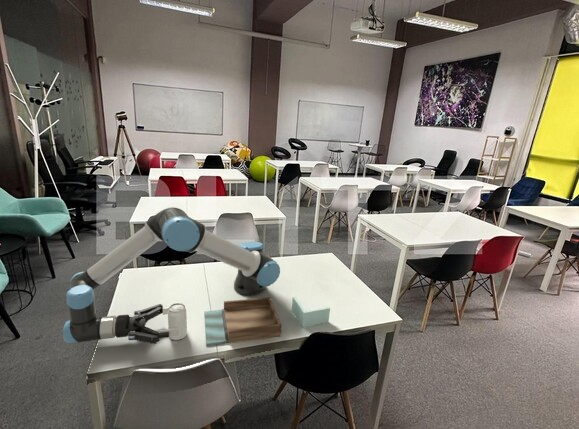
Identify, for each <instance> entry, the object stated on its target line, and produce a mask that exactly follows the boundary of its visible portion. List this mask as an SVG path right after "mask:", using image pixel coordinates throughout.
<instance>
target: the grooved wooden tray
mask: <svg viewBox="0 0 579 429" xmlns="http://www.w3.org/2000/svg"><path fill="white" fill-rule="evenodd" d="M204 329H205V330H204V332H205V345H206V346H205V347H208V346H217V345H223V344H224V345H225V344H231V343H233V344H234V343H240V342H247V341H256V340H262V339H263V340H265V339H271V338H278V337H279V338H280V337H281V335H282V324H281V321H280V318H279V315H278V314H277V311H276V308H275V306H274V304H273V301H272V298H271V297H269V296H268V297H257V298H247V299H246V298H245V299H236V300H226V301H225V300H224V301H223V308H222V309H216V310H206V311H204Z"/></svg>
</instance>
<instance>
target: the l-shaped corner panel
mask: <svg viewBox="0 0 579 429" xmlns="http://www.w3.org/2000/svg"><path fill="white" fill-rule="evenodd" d="M291 301H292V302H291V312H292V314H293V315H294V317H295V318H296V320H297V321H299V322H298V323H299V325H300V324H301V325H300V326H301V328H302V327H303V328H306V327H307V326H308V327H312V326H317V325H316V324H318V325H322V324H321V323H323V324H326V323H325V322H328V323H329V322H330V321H329V320H330V313H331V307H330V306H328V307H321V308H318V309H317V308H316V309H307V310H305V308H304V307H303V305H301V303H300V302H299V300H298V299H297V298H296V296H292V300H291ZM308 327H307V328H308Z"/></svg>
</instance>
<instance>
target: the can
mask: <svg viewBox="0 0 579 429" xmlns="http://www.w3.org/2000/svg"><path fill="white" fill-rule="evenodd" d="M168 307H169V310H168V314H167V324H168V326H167V327H168V328H167V329H173V328H179V336H172V337H169V339H171V340H173V341H180V339H181V340H182V339H185V337H186V336H187V334H188V326H187V325H188V324H187V323H188V322H187V319H188V316H187V308H186V306H185V304H184V303H181V302H180V303H179V302H177V303H173V304H171V305H170V306H168Z"/></svg>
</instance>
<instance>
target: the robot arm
mask: <svg viewBox="0 0 579 429" xmlns="http://www.w3.org/2000/svg"><path fill="white" fill-rule="evenodd" d="M163 241H164V243H165V244H166V245H167V246H168V247H169V248H171V249H172V250H175V251H176V252H177V251H178V252H187V253H194V252H198V253H200V254H203V255H205V256H208V257H210V258H212V259H214V260H216V261H218V262H221V263H223V264H226V265H228V266H230V267H233V268H235V269H237V274H236V277H235V279H234V282H233V289H234V291H235V292H236V293H238V294H240V295H243V296H255V295H259V294H262V293H263V292H264V290H266V289H265V288H267V287H270V286H271V285H273V284H274V283H276V282H277V281H278V279H279V277H280V275H281V267H280V265H279V264H278V262H277V261H276V260H274V259H273V258H272V257H271V256H270V255H268V254H267V252H265V251H264V249H265V246H264V244H263V243H262V242H259V241H247V242H242V243H241V244H239V245H237V244H235V243H233V242H231V241H229V240H227V239H225V238H222V237H221V236H219V235H217V234H214V233H212V232H210V230H209V231H208V230H207V229H206V226H205V224H203V223H201V222H199V221H197V220H195V219H194V218H192V217H190V216H189V215H188V214H187V213H186V212H185V211H184V210H182V209H181V208H178V207H174V206H173V207H167V208H165V209H163V210H160V211H158V212H157V213H156V214H154V215H153V216H152V217H151V218H149V219H148V220H146V221H145V223H144V226H143V227H142V228H141V229H139V230H137V231H136V232H135V233H134V234H132V235H131V236H130V237H128V238H127V239H126V240H125V241H123V242H122V243H121V244H119V245H118V246H117V247H116V248H114V249H113V250H111V251H110V252H109V253H107V254H106V255H105V256H103V257H102V258H101V259H99V261H97V262H96V263H94V264H93V265H91V266H90V267H89V268H87V269H86V270H84V271H79V272H77V273H75V274H74V275H73V276H72V277H71V279H70V281H69V290H68V291H67V292H66V294H65V295H66V296H65V297H66V305H67V309H68V315H69V320H67V321H65V322H64V325H63V328H62V338H63V340H64V342H65V343H68V344H69V343H78V344H79V343H83V342H91V341H98V340H107V339H114V338H117V339H118V338H126V337H127V338H128V339H127V340H128V341H138V342H143V343H148V344H151V345H152V344H153V345H154V344H157V343H158V342H160V340H161V339H166V338H167V339H168V338H170V337H172V336H179V328H173V329H168V328H166V329H165V328H164V329H159V330H158V331H157V330H154V329H152V328H150V327H147V326H146V325H147V323H148V322H149V321H150V320H152V319H154V318H156V317H157V316H159V315H163V316H164V315H168V310H169V307H170V306H163V304H162V303H158V304H155V305H153V306H149V307H146V308H144V309H139V310H135V311H133V314H134V316H130V314H120V315H117V316H116V315H108V316H97V312H96V311H97V310H96V302H95V290H97V289H98V288H99V287H100V286H102V285H103V284H104V283H105V282H106V281H108V280H110V279H111V278H112V277H113V276H115V275H116V274H117V273H119V272H120V271H122V270H123V269H125V267H126V266H128V265H129V264H130V263H132V262H133V261H134V260H135V259H137V258H138V257H140V255H142V254H143V253H144V252H146V251H147V250H149V249H150V248H151V247H152V246H154V245H155V244H156V243H157V242H163Z"/></svg>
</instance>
